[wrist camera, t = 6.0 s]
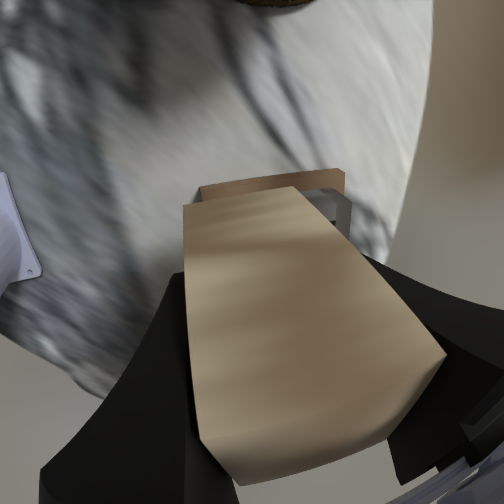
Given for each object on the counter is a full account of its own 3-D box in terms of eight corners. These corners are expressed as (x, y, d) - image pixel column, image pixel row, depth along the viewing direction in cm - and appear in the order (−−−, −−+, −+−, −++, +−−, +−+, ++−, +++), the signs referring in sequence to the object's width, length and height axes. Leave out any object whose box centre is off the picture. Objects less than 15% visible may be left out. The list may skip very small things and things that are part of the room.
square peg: (204, 293, 12) (239, 486, 5) (183, 205, 10) (200, 439, 3) (295, 273, 12) (385, 439, 6) (292, 186, 10) (446, 354, 4)
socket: (220, 301, 22) (227, 334, 19) (199, 186, 17) (203, 209, 14) (331, 276, 23) (350, 304, 20) (337, 168, 18) (366, 185, 15)
